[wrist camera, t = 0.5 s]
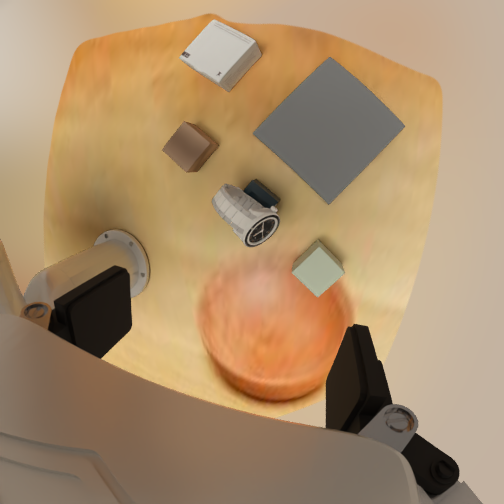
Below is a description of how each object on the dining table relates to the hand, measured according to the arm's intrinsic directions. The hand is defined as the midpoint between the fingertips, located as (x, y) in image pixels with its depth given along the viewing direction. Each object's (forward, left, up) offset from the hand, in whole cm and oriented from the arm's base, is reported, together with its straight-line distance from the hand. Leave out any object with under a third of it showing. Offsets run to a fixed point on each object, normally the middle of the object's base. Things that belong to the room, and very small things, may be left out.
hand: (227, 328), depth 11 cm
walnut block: (-2, +16, -30) cm, 34 cm away
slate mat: (+13, +4, -29) cm, 32 cm away
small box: (+11, +22, -30) cm, 39 cm away
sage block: (-2, -8, -30) cm, 31 cm away
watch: (-2, +4, -30) cm, 30 cm away
